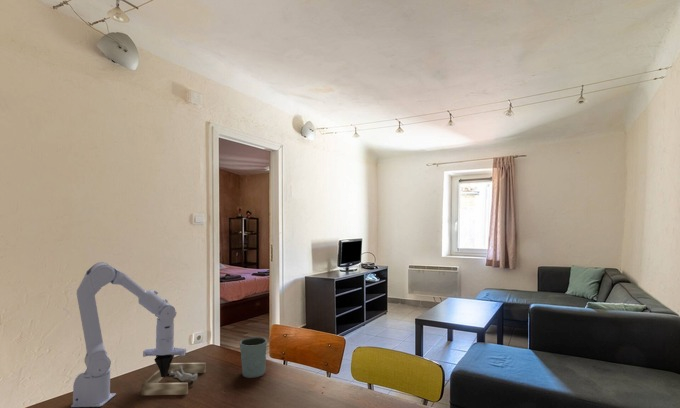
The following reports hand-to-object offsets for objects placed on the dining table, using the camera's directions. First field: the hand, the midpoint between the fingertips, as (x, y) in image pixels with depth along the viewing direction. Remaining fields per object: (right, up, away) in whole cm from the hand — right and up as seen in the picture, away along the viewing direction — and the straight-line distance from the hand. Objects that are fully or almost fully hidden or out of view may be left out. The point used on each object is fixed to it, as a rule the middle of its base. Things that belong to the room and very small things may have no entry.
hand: (164, 376), depth 129 cm
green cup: (+30, -3, +8) cm, 31 cm away
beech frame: (+5, -2, 0) cm, 5 cm away
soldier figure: (+6, -3, +1) cm, 7 cm away
